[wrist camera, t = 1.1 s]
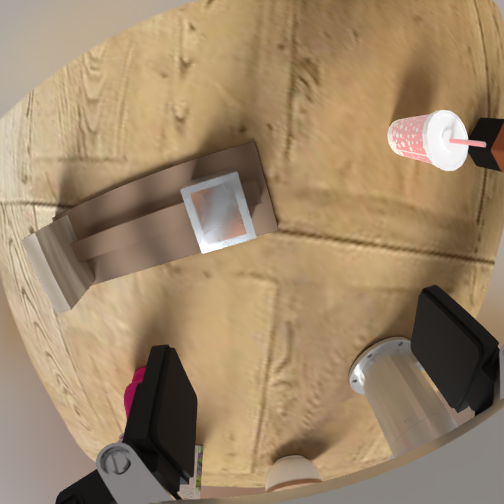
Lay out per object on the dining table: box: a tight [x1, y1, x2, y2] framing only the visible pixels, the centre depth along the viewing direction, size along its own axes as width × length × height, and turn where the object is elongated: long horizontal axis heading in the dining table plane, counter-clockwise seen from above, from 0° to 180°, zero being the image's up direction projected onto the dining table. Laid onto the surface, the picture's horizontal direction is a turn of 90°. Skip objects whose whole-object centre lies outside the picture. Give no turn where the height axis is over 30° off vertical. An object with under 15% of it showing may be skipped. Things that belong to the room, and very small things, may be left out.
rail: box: [22, 142, 278, 313], centre depth 28 cm, size 26×10×8 cm, turn 106°
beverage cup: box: [387, 110, 486, 171], centre depth 23 cm, size 6×6×14 cm
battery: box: [468, 118, 504, 172], centre depth 25 cm, size 4×7×10 cm, turn 143°
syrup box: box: [178, 445, 203, 500], centre depth 41 cm, size 6×6×14 cm
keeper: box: [180, 167, 256, 254], centre depth 27 cm, size 5×6×6 cm
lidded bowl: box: [266, 455, 323, 493], centre depth 47 cm, size 13×13×11 cm
